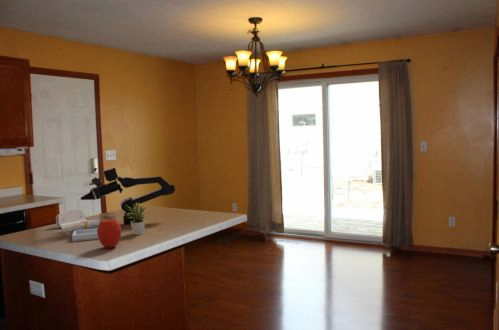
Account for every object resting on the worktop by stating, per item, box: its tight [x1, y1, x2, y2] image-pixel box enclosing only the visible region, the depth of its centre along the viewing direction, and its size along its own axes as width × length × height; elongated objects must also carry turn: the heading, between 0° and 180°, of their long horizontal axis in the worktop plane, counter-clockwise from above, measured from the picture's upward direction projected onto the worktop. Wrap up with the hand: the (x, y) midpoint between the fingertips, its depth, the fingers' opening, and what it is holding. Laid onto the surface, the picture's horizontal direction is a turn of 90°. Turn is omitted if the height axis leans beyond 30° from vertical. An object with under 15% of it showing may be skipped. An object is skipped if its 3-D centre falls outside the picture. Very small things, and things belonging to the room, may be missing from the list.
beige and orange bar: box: [80, 218, 100, 229], centre depth 219 cm, size 12×4×4 cm, turn 109°
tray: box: [71, 228, 99, 242], centre depth 207 cm, size 17×11×3 cm, turn 109°
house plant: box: [125, 203, 149, 236], centre depth 212 cm, size 14×14×16 cm
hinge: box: [55, 209, 87, 230], centre depth 237 cm, size 17×5×10 cm, turn 144°
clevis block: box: [64, 212, 117, 236], centre depth 219 cm, size 25×8×8 cm, turn 109°
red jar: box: [97, 219, 122, 249], centre depth 185 cm, size 10×10×14 cm
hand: (80, 198), depth 226 cm, fingers open, 9 cm apart
